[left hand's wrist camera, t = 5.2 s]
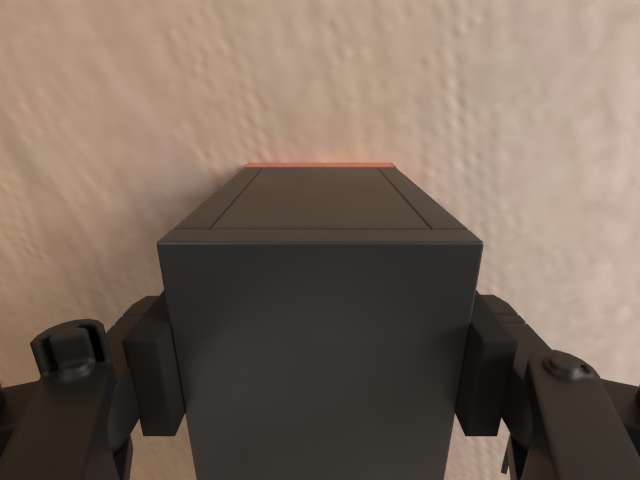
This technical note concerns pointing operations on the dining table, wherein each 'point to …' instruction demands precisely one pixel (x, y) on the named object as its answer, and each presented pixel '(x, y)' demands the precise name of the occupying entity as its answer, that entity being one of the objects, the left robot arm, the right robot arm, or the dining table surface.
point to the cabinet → (320, 324)
